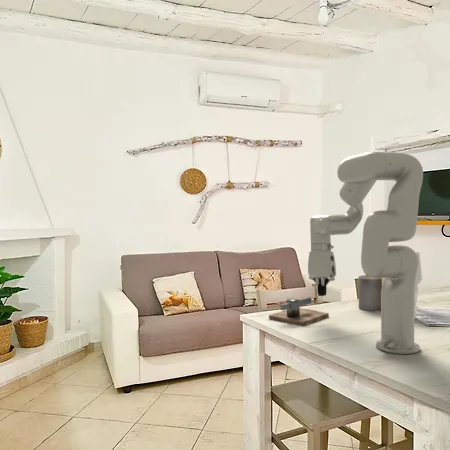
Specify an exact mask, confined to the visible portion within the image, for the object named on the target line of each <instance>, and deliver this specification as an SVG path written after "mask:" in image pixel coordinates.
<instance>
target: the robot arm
mask: <svg viewBox="0 0 450 450" xmlns="http://www.w3.org/2000/svg"><path fill="white" fill-rule="evenodd" d="M336 174H337V178H338V179H339V181H341V183H344V184H343V185H342V186H341V188H340V190H339V197H340V198H341V200H342V201H343V202H344V203H345V204H347V205H348V206H349V208H348V209H347V211H346V212H345V213H344V214H340V213H339V214H325V215H314V216H311V217H310V219H309V228H310V251H309V253H308V260H307V261H308V263H307V274H308V279H309V280H311V281H314V283H315V284H316V285H315V286H316V287H317V296H318V297H325V296H326V295H327V286H328V285H329V283H330V282H334V281H335V280H336V278H335V277H336V276H337V267H336V259H335V254H334V251H332V249H333V250H334V247H335V246H334V244H332V242H331V238H332V237H331V236H337V235H339V236H340V235H343V236H344V235H348V234H351V233H353V231H355V229H357V226H359V224H360V223H361V221H362V219H363V216H364V205H363V202H364V200H365V199H366V197H367V196H368V194H369V192H370V191H371V189H373V186H374V185H375V184H376V182H377V181H395V183H394V185H393V186H392V188H391V190H390V192H389V195H388V200H387V202H388V203H387V209H386V210H385V209H383V210H376V211H373V212H371V213H369V215H368V216H367V218H366V219H365V222H364V224H363V228H362V229H363V231H362V240H361V241H362V242H361V243H362V244H361V255H360V264H361V268H362V271H363V273H364V274H365V275H367V276H368V277H370V278H374V279H380V278H382V279H384V280H383V281H382V290H381V310H380V311H381V314H380V316H381V317H380V318H381V319H380V326H381V327H380V339H378V340H376V341H375V347H376V348H377V349H379V350H381V351H383V352H387V353H390V354H395V355H396V354H397V355H410V354H411V355H412V354H416V353H418V352H419V351H420V350H421V346H420V345H419V344H418V343H417V342H415V319H414V299H415V279H416V274H417V269H418V257H417V254H416V253H415V252H416V251H415V250H414V249H413V248H411V247H409V246H408V245H402V244H399V245H398V244H395V245H389V244H390V243H400V242H406V241H409V240H412V239H413V238H414V237H415V235H416V231H417V224H418V223H417V222H418V214H419V213H418V212H419V206H420V205H419V201H420V193H421V189H422V185H423V181H424V180H423V179H424V170H423V166H422V164H421V162H420V161H419V160H418V158H416V157H415V156H413V155H412V154H408V153H403V152H391V151H389V152H387V151H368V152H364V153H360V154H357V155H352V156H347V157H346V158H344V159H343V160H342V161H341V162H340V163H339V165H338V167H337V173H336Z"/></svg>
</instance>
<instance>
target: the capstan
mask: <svg viewBox="0 0 450 450" xmlns="http://www.w3.org/2000/svg"><path fill="white" fill-rule="evenodd" d="M310 304H312V297H310V296H307V297H303V298H299V299H298V298H287V299H286V303H282V304H280V311H284V310H287V316H290V317H298V316H300V308H301V307H304V306H307V305H310Z"/></svg>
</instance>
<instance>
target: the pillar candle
mask: <svg viewBox="0 0 450 450" xmlns="http://www.w3.org/2000/svg"><path fill="white" fill-rule="evenodd" d="M357 278H358V279H357V281H358V282H357V283H358V284H357V285H358V286H357V287H358V309H359V310H361V311H369V312H378V311H381V290H382V285H383V278H380V279H374V278H370V277H368V276H367V275H366V274H365V275H359V276H358V277H357Z"/></svg>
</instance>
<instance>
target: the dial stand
mask: <svg viewBox="0 0 450 450" xmlns="http://www.w3.org/2000/svg"><path fill="white" fill-rule="evenodd" d="M329 317H330V313H329V312H323V311H318V310H315V309H314V310H313V309H309V308H302V307H300V316H298V317H290V316H287V310H280V311H278V312H275V313H272V314H269V315H268V319H269V320H273V321H277V322H283V323H288V324H292V325H297V326H301V327H305V326H308V325H310V324H313V323H315V322H319V321H321V320H324V319H326V318H329Z"/></svg>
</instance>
